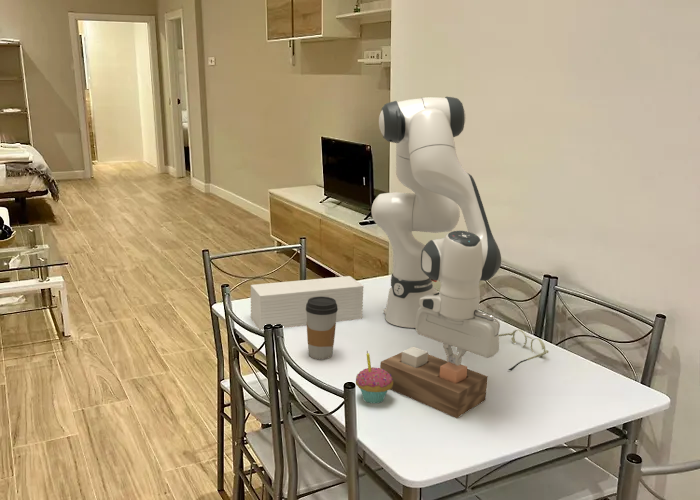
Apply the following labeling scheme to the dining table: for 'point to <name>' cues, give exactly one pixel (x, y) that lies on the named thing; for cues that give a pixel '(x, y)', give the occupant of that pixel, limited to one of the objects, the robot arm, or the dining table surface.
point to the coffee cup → (321, 326)
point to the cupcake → (374, 383)
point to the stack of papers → (304, 300)
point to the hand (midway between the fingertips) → (453, 363)
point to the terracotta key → (453, 372)
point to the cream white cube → (414, 357)
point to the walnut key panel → (436, 385)
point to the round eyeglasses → (525, 344)
